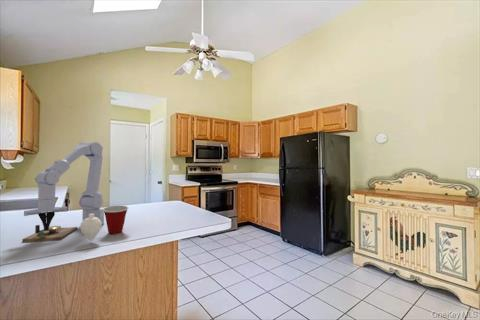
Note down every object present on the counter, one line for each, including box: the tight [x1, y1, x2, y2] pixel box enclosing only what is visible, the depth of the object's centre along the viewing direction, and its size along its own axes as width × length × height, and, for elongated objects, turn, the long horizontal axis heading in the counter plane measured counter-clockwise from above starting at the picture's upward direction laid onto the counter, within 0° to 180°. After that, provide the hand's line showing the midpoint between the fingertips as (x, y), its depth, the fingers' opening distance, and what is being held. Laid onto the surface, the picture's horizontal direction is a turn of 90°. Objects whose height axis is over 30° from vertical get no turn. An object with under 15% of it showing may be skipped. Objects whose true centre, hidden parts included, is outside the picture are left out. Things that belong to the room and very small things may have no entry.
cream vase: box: [79, 214, 103, 243], centre depth 97 cm, size 8×8×12 cm
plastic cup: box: [102, 205, 129, 235], centre depth 111 cm, size 11×11×12 cm
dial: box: [34, 224, 62, 234], centre depth 104 cm, size 10×6×3 cm, turn 161°
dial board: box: [21, 226, 79, 243], centre depth 106 cm, size 14×16×3 cm
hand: (46, 229), depth 101 cm, fingers closed
